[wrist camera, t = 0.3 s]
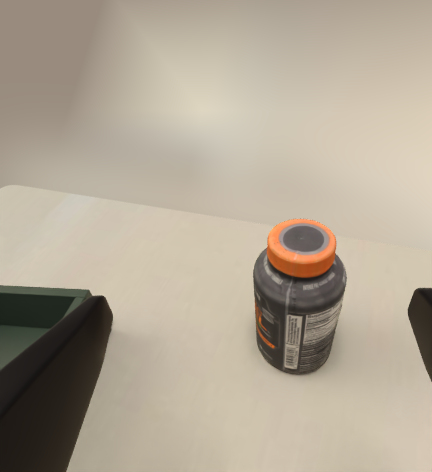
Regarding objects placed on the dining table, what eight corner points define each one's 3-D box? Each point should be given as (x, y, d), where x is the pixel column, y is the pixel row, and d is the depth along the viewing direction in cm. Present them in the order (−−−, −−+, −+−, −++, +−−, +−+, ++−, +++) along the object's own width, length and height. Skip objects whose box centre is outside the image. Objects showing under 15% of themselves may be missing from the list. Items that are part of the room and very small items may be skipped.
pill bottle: (252, 313, 28) (246, 212, 21) (319, 308, 28) (336, 203, 20) (261, 379, 23) (258, 277, 16) (341, 373, 23) (373, 267, 16)
